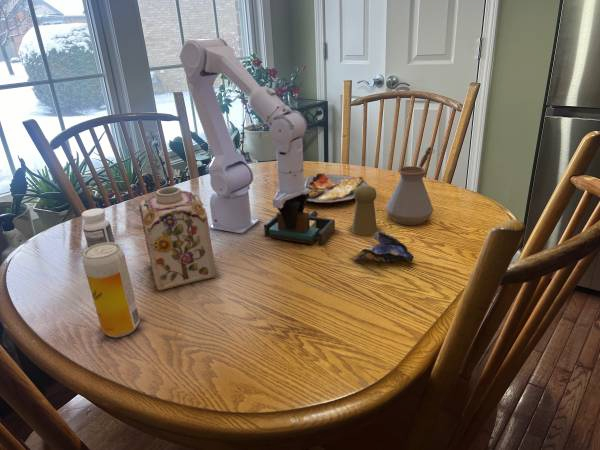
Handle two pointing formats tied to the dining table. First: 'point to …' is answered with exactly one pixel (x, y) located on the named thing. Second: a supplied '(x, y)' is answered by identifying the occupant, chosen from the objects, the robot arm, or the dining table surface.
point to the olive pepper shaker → (364, 211)
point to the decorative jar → (177, 237)
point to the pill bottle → (96, 227)
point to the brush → (299, 233)
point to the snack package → (385, 249)
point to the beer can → (111, 288)
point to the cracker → (312, 223)
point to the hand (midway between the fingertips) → (293, 225)
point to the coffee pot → (411, 196)
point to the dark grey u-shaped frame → (322, 223)
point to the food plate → (333, 187)
